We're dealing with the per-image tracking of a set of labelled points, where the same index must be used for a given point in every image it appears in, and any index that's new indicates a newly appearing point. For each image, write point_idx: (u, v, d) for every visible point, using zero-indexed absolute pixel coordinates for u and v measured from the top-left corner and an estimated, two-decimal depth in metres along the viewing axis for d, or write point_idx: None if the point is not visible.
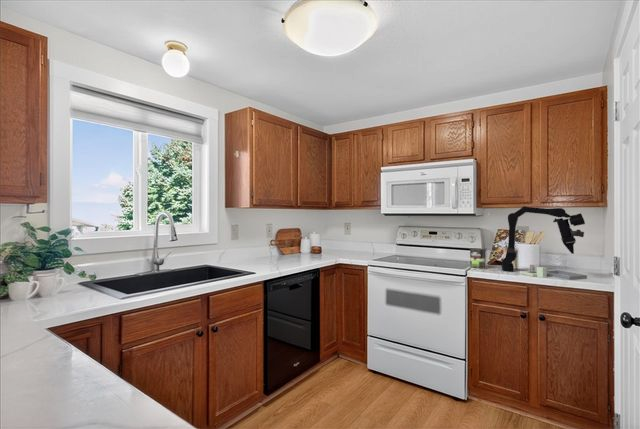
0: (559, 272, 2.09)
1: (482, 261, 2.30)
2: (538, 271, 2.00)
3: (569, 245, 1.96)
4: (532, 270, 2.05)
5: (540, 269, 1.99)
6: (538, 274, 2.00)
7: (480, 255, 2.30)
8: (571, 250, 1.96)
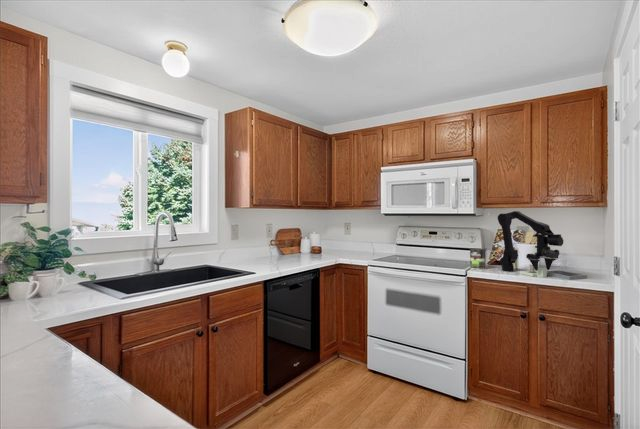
0: (559, 272, 2.09)
1: (482, 261, 2.30)
2: (538, 271, 2.00)
3: (534, 262, 1.98)
4: (532, 270, 2.05)
5: (540, 269, 1.99)
6: (538, 274, 2.00)
7: (480, 255, 2.30)
8: (535, 267, 1.98)
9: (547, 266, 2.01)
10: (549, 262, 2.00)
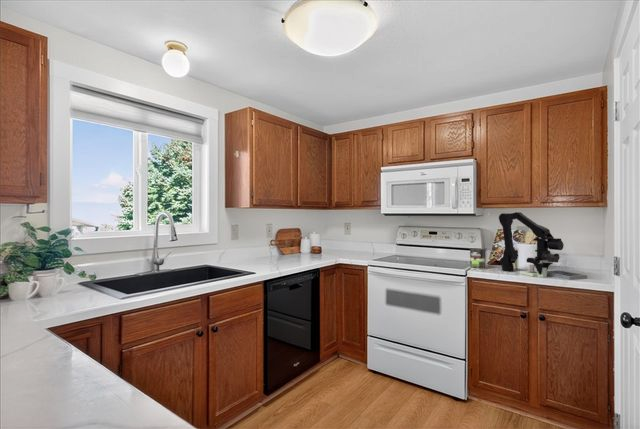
0: (559, 272, 2.09)
1: (482, 261, 2.30)
2: None
3: (538, 265, 1.99)
4: (532, 270, 2.05)
5: None
6: (538, 274, 2.00)
7: (480, 255, 2.30)
8: (539, 271, 1.99)
9: None
10: (545, 266, 1.99)
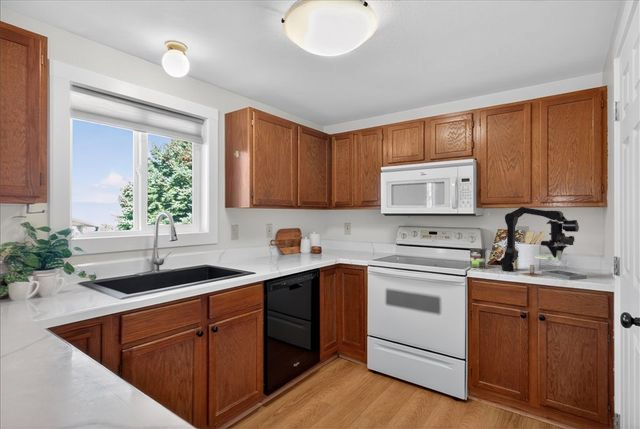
0: (559, 272, 2.09)
1: (482, 261, 2.30)
2: None
3: (552, 248, 1.97)
4: (532, 270, 2.05)
5: None
6: (553, 257, 1.98)
7: (480, 255, 2.30)
8: (553, 254, 1.96)
9: None
10: (560, 249, 1.97)
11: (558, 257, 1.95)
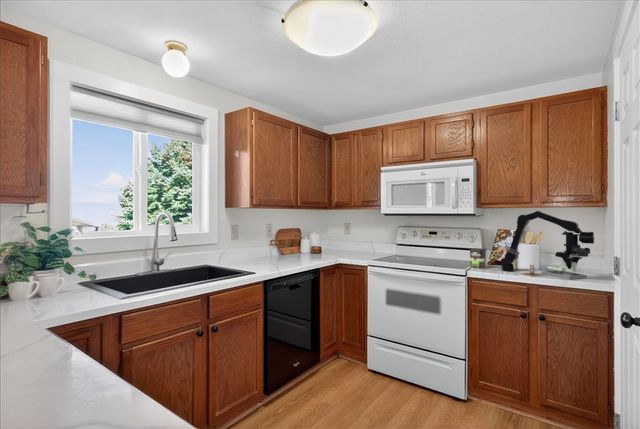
0: (559, 272, 2.09)
1: (482, 261, 2.30)
2: None
3: (567, 260, 1.95)
4: (532, 270, 2.05)
5: None
6: (567, 269, 1.96)
7: (480, 255, 2.30)
8: (568, 265, 1.95)
9: None
10: (575, 261, 1.95)
11: (573, 269, 1.94)
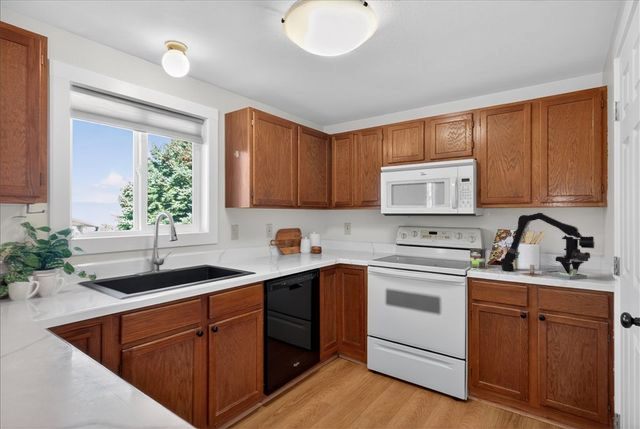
0: None
1: (482, 261, 2.30)
2: (567, 273, 1.96)
3: (566, 264, 1.95)
4: (532, 270, 2.05)
5: (570, 271, 1.95)
6: None
7: (480, 255, 2.30)
8: (566, 270, 1.94)
9: None
10: (576, 265, 1.95)
11: None
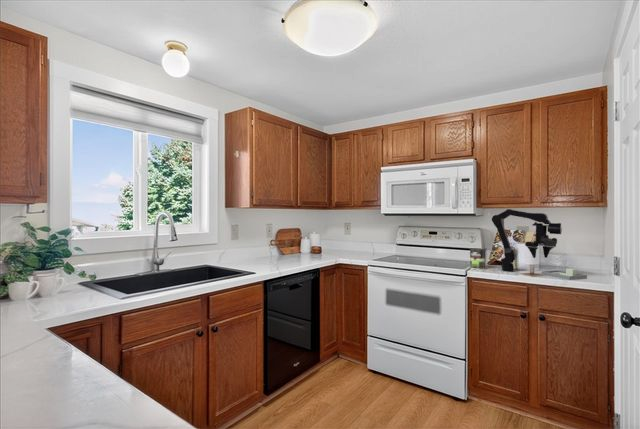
0: None
1: (482, 261, 2.30)
2: (567, 273, 1.96)
3: (532, 249, 2.06)
4: (532, 270, 2.05)
5: (570, 271, 1.95)
6: None
7: (480, 255, 2.30)
8: (533, 254, 2.06)
9: (545, 254, 2.09)
10: (547, 250, 2.08)
11: None
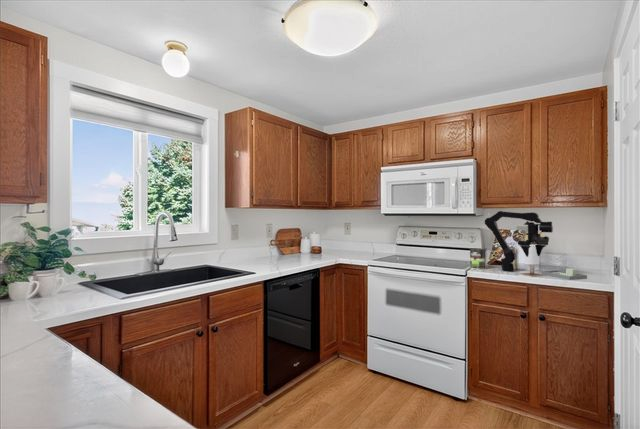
0: None
1: (482, 261, 2.30)
2: (567, 273, 1.96)
3: (525, 248, 2.09)
4: (532, 270, 2.05)
5: (570, 271, 1.95)
6: None
7: (480, 255, 2.30)
8: (526, 253, 2.09)
9: (538, 252, 2.12)
10: (539, 249, 2.11)
11: None
